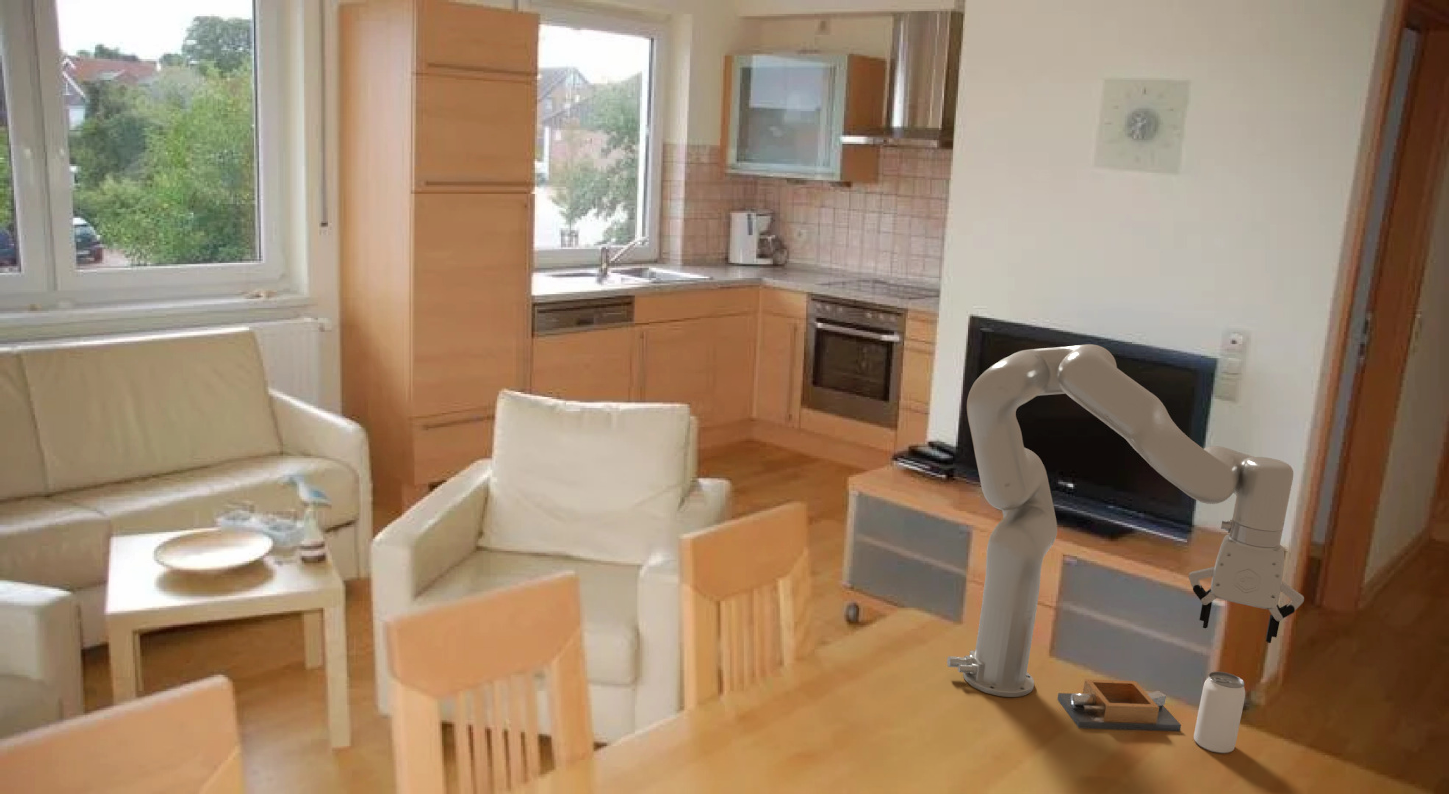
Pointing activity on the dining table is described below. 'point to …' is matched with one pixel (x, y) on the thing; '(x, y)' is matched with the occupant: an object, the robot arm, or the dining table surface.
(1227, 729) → the can
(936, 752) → the dining table surface
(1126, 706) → the base
